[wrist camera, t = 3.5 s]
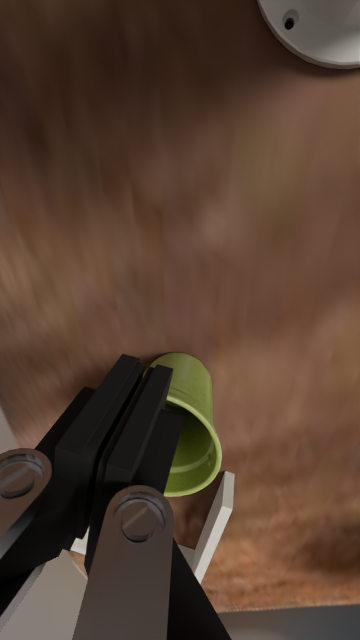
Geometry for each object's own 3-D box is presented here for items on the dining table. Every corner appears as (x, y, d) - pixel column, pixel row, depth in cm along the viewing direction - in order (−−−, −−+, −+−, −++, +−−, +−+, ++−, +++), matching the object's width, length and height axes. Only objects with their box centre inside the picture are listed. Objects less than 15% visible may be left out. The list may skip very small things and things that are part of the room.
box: (234, 473, 34) (232, 509, 30) (200, 557, 41) (195, 594, 37) (91, 428, 35) (73, 457, 32) (81, 516, 42) (66, 547, 39)
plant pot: (129, 407, 33) (91, 478, 25) (134, 325, 29) (92, 379, 21) (219, 428, 32) (209, 510, 24) (238, 346, 28) (233, 412, 20)
